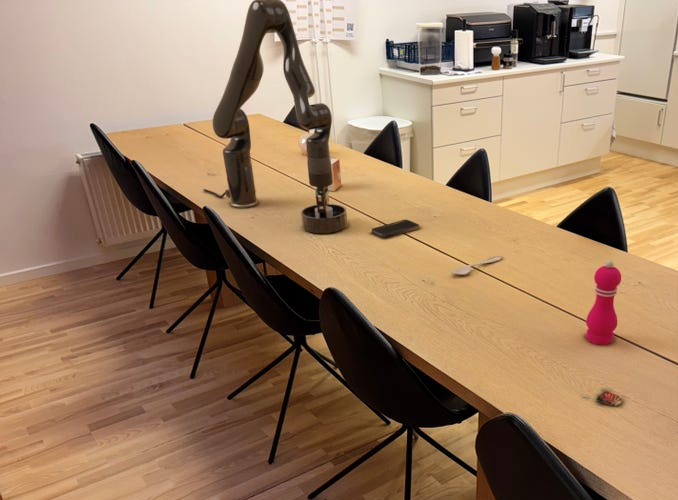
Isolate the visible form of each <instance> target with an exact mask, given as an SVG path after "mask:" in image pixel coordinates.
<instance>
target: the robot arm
mask: <svg viewBox="0 0 678 500" xmlns="http://www.w3.org/2000/svg"><path fill="white" fill-rule="evenodd" d="M245 17H246V18H245V23H244V25H243V30H242V35H241V40H240V43H239V47H238V50H237V53H236V56H235V59H234V61H233V64H232V67H231V70H230V73H229V77H228V80H227V83H226V85H225V89H224V92H223V94H222V96H221V98H220V101H219V103H218V105H217V107H216V108H215V110H214V112H213V117H212V123H211V124H212V130H213V132H214V134H215V135H216V136H217V137H218V138H220V139H222V140H223V139H224V140H228V139H230V141H229V142H228V143H227V144H226V146H224V148H223V149H222V157H223V162H224V169H225V174H226V175H225V176H226V183H227V189H225V190H224V191H225V192H223V193H222V194H221V195H220V194H218V193H217V192H215V191H212V190H210V189H206V188H203V190H202V191H204V192H206V193H209V194H212V195H214V196H215V197H217V198H220V199H221V198H224V197H226V198H228V199H229V200H230V206H231V207H233V208H237V209H238V208H239V209H245V208H251V207H254V206H256V205H258V198H257V189H256V185H255V184H256V183H255V178H254V177H255V176H254V170H253V164H252V157H251V156H252V155H251V149H252V140H251V130H250V122H249V118H248V116H247V113H246V112H245V111H244V110H243V109H242V107H243V106H244V105H245V104H246V102H248V101H249V99H250V98H251V97H252V96H253V95H254V94H255V93H256V91H257V90H258V88H259V86H260V83H261V80H262V78H263V75H264V72H265V71H264V68H265V66H264V61H263V58H262V54H261V47H262V43H263V41H264V38H265V36H266V35H267V34H276V35H277V37H278V38H279V41H280V43H281V46H282V51H283V53H282V54H283V55H282V57H283V58H282V59H283V61H282V67H283V68H282V70H283V75H284V78H285V81H286V83H287V85H288V88H289V90H290V92H291V95H292V97H293V102H294V103H293V104H294V108H295V115H296V118H297V122H298V124H299V125H300V126H301V127H302V128H303V129H304V130H307V131H314V132H313V133H311V134H312V135H311V136H310V137H308V138H307V140H306V147H307V155H306V156H307V157H306V159H307V160H306V161H307V162H306V163H307V173H308V183H309V186H311V187H315V188H316V189H315V192H314V193H315V194H314V195H315V199H316V200H315V202H316V205H317V212H318V213H319V216H320V218H327V215H326V212H327V210H326V206H328V205H329V204H330V203H329V202H330V195H329V193H330V191H329V190H328V186H330V185H332V183H333V179H332V168H331V160H330V159H331V155H330V145H329V144H330V143H329V141H330V135H331V130H332V123H333V116H332V112H331V109H330V107H329V106H328V105H327V104H325V103H323V102H318V103H313V104H310V101H309V99H311V98H312V97H313V96H314V95H315V93H316V89H315V86H314V83H313V81H312V79H311V77H310V75H309V72H308V70H307V67H306V65H305V64H304V60H303V57H302V54H301V51H300V46H299V43H298V39H297V35H296V31H295V29H294V25H293V22H292V17H291V15H290V11H289V10H288V8H287V6H286V4H285V3H284V1H282V0H252V2H251V3H250V4H249V6H248V9H247V12H246V16H245ZM320 206H323V209H320Z"/></svg>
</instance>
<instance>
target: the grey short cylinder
mask: <svg viewBox="0 0 678 500" xmlns="http://www.w3.org/2000/svg"><path fill="white" fill-rule="evenodd" d="M320 209H323V206H321V207H320ZM326 210H327V212H326V215H327V218H328V217H333V209H332V207H329V206H326ZM315 217H316V218H320V216H319V213H318V212H317V208H315Z"/></svg>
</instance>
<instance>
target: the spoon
mask: <svg viewBox="0 0 678 500" xmlns="http://www.w3.org/2000/svg"><path fill="white" fill-rule="evenodd" d="M501 260H502V256H501V257H500V256H496V257H492V258H489V259H487V260H484V261H480V262H476V263H473V264H468V265H465V266H462V267H458V268H456V269H454V270H452V271H451V273H452V274H454V275H458V276H465V275H468V274H469V273H470V272H471V268H472V267H474V266H478V265H484V264H490V263H494V262H495V263H496V262H498V261H501Z"/></svg>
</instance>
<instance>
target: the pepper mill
mask: <svg viewBox="0 0 678 500" xmlns="http://www.w3.org/2000/svg"><path fill="white" fill-rule="evenodd" d="M593 280H594V283H595V284H596V285H595V286H594V288H595V289H594V293H595V301H594V303H593V306H592V307H591V309H590V310H589V312H588V314H587V316H586V320H585V324H586V327H587V330H586V336H585V337H586V340H587V341H588V342H589V343H592V344H595V345H608V344H611V343H613V341H614V335H615V333H614V331H616V329H617V327H618V316H617V313H616V310H615V305H614V304H615V303H614V302H615V296H616V295H617V294H618V286H619V285H620V284H621V282H622V273H621V271H620V270H619V269H618V268H617V267H616V266H614V261H613V260H610V259H609V260H607V261H606V262H605V265H602V266H600V267H598V269H597V270H596V271H595V273H594V276H593Z"/></svg>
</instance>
